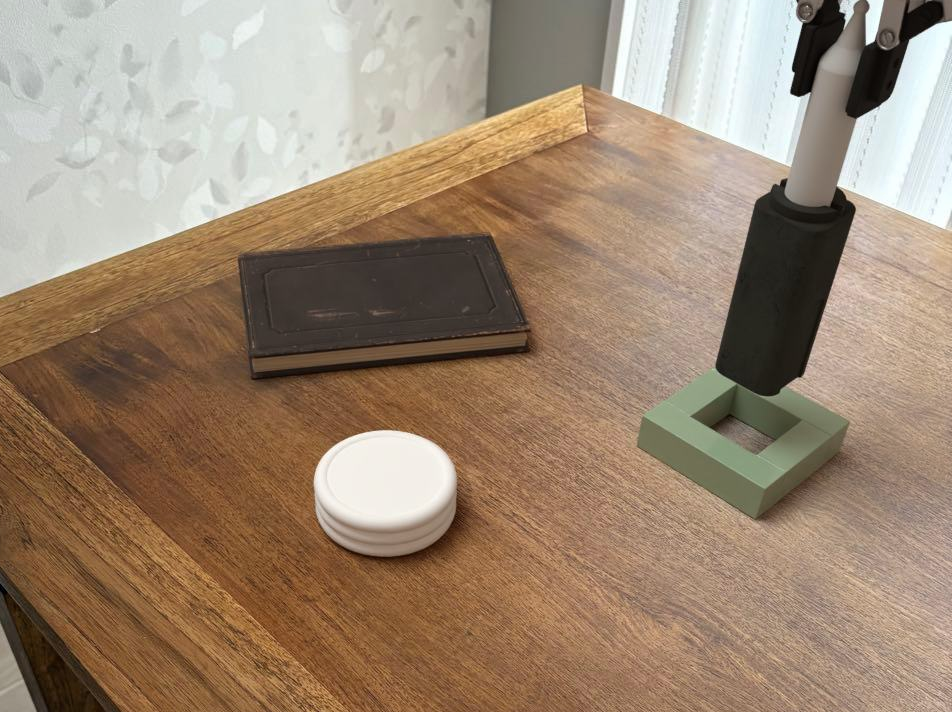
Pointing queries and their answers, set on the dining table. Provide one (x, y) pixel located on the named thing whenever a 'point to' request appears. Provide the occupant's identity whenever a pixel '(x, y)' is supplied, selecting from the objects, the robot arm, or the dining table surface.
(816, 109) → the black and white post
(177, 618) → the dining table surface
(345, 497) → the white stacked coasters
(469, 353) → the hardcover book
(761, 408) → the pad
